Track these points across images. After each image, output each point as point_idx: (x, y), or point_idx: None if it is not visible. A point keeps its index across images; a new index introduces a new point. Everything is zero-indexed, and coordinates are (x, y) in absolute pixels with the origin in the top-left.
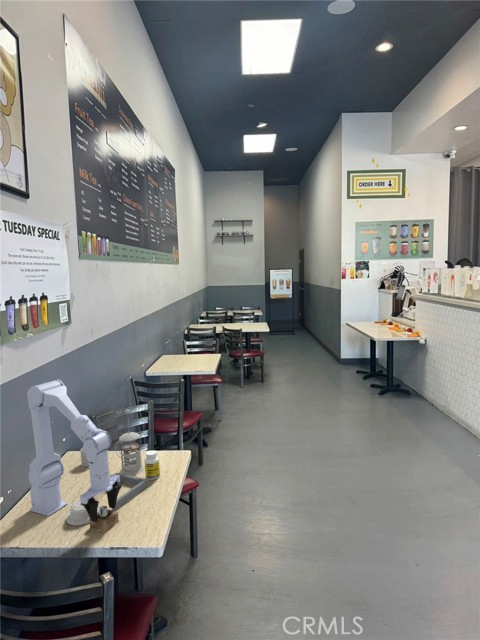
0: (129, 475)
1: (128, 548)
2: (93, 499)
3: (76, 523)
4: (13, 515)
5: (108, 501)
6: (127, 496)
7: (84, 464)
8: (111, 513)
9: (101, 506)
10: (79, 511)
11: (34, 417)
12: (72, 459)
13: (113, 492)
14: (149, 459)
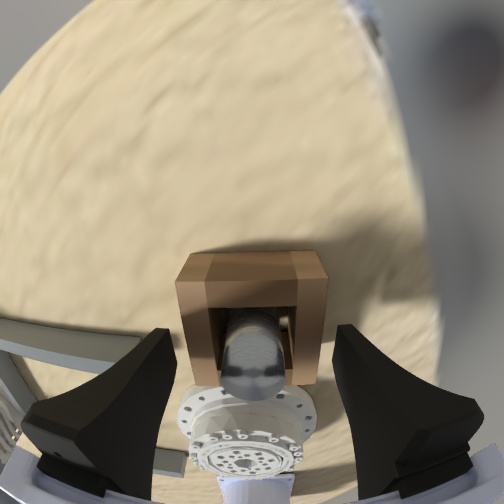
0: None
1: (370, 15)
2: (409, 474)
3: (312, 406)
4: (314, 499)
5: (167, 395)
6: (50, 342)
7: None
8: (208, 312)
9: (244, 398)
10: (293, 444)
11: None
12: None
13: (120, 425)
14: None
